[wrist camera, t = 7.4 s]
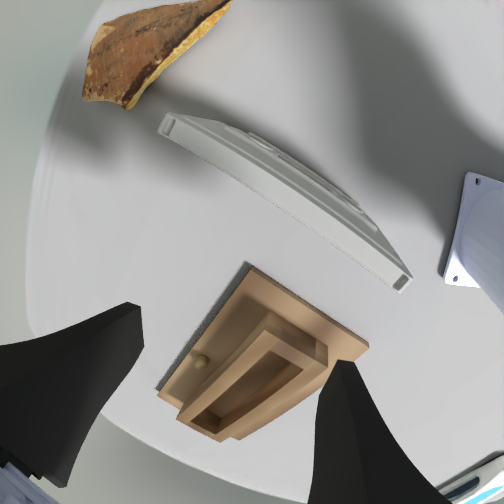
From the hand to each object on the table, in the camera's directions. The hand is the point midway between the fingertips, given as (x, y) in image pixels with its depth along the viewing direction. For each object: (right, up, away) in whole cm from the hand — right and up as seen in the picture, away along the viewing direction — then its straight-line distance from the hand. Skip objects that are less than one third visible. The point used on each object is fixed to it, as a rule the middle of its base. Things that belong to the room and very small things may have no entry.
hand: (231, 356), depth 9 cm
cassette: (+4, +8, +8) cm, 12 cm away
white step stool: (+50, -50, +21) cm, 73 cm away
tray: (0, -8, +15) cm, 17 cm away
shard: (-4, +22, +5) cm, 23 cm away
